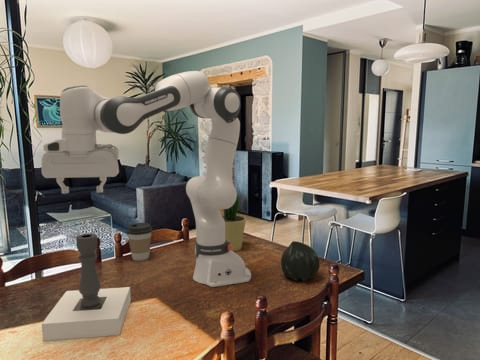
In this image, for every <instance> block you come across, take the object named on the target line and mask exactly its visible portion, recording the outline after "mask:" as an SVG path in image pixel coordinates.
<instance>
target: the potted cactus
mask: <svg viewBox="0 0 480 360" xmlns="http://www.w3.org/2000/svg"><path fill="white" fill-rule="evenodd" d="M236 192H238V191H237V189H236ZM238 196H239V195H237V198H236V201H235V203H234V204H233V206H232V207H230V208H228V209H222V211H223V214H221V215H222V217H223V218H224V221H225V240H226V241H227V240H228V241H229V242H230V244H231V245H232V246H233V249H232V251H233V252H238V251H240V250H241V249H242V247H243V241H244V235H245V234H244V232H245V227H246V220H247V218H246V216H245V215H241V214H238V209H239V207H238V206H239V205H241V204H240V199H239V197H238Z"/></svg>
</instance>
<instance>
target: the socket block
mask: <svg viewBox="0 0 480 360" xmlns="http://www.w3.org/2000/svg"><path fill="white" fill-rule="evenodd" d="M97 296H98V297H99V298H100V299H101V303H102V308H101V309H97V310H83V311H80V306H81V305H80V303H81V301H82V299H83V297H82V294H81V293H80V292H79V289H78V290H77V289H76V290H66V291H65V293H63V295H62V296H61V298H60V299H59V300H58V301H57V303H56V304H55V306H54V307H52V310H51V311H50V312H49V314H48V315H47V316H46V318H45V319H44V320H42V321H43V322H42V323H41V330H42V331H41V333H42V341H43V342H48V341H49V342H50V341H61V340H62V341H64V340H75V339H86V338H99V337H112V336H120V334H121V331H122V328H123V325H124V322H125V319H126V316H127V313H128V311H129V308H130V304H131V287H130V286H127V287H125V286H124V287H110V288H109V287H108V288H100V290H99V292H98V295H97Z"/></svg>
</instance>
